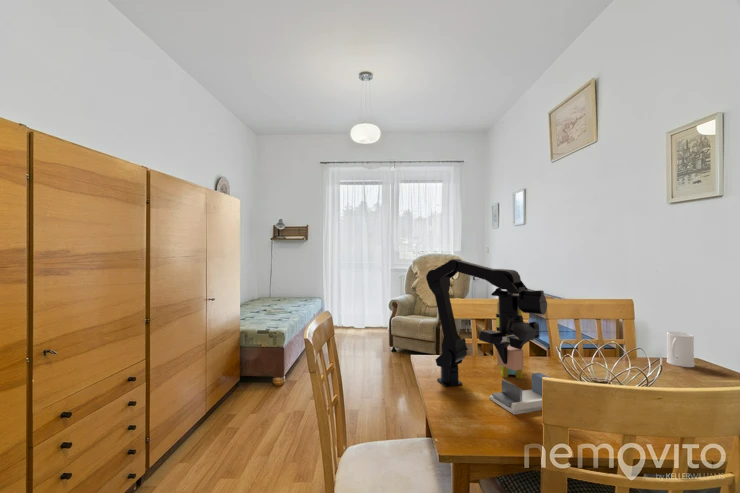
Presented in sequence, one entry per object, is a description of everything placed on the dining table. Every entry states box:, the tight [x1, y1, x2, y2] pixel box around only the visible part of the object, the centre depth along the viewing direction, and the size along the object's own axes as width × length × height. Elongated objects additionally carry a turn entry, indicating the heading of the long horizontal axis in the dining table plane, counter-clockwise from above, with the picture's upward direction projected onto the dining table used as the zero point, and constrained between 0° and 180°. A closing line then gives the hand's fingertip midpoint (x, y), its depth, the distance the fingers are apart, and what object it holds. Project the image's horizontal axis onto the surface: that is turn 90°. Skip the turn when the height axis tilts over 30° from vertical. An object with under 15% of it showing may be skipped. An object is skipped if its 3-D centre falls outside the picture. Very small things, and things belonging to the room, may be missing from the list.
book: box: [495, 300, 523, 379], centre depth 135 cm, size 17×7×25 cm, turn 168°
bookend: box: [491, 379, 523, 407], centre depth 104 cm, size 8×4×4 cm, turn 17°
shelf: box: [489, 372, 552, 415], centre depth 106 cm, size 11×19×6 cm, turn 107°
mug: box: [666, 331, 696, 368], centre depth 141 cm, size 12×8×12 cm
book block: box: [496, 346, 525, 371], centre depth 107 cm, size 7×4×6 cm, turn 21°
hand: (510, 362), depth 107 cm, fingers closed on book block, 3 cm apart
